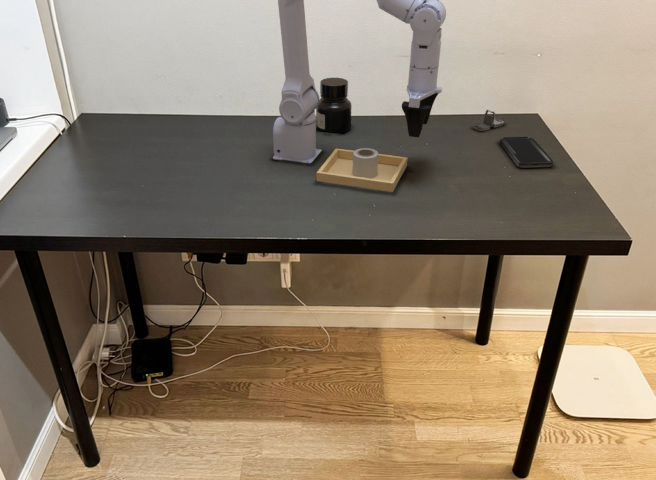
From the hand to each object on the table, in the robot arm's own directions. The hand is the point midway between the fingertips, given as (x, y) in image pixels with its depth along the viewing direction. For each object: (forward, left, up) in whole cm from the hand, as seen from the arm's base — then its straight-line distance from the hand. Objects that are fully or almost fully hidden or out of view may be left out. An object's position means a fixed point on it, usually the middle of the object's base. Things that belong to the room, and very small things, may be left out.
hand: (418, 129), depth 137 cm
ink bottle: (-25, +19, -10) cm, 33 cm away
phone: (+22, +17, -10) cm, 30 cm away
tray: (-10, -5, -10) cm, 15 cm away
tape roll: (-10, -5, -9) cm, 15 cm away
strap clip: (+12, +32, -10) cm, 36 cm away
